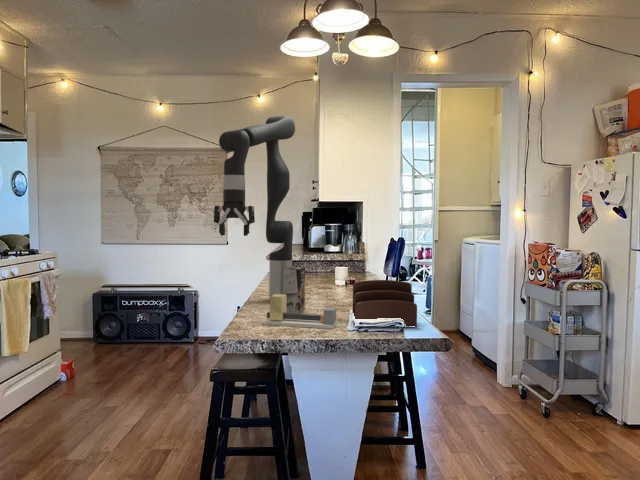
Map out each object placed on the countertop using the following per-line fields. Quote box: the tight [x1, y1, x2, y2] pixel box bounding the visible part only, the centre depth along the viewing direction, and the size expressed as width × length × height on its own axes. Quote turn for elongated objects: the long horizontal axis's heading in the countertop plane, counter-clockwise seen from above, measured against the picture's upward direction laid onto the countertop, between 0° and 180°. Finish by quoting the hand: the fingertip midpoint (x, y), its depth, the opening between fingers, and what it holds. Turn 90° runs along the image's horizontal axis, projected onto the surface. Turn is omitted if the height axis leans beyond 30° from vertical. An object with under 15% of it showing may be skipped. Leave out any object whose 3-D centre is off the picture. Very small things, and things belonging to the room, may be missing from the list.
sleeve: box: [269, 294, 287, 320], centre depth 148 cm, size 5×4×8 cm
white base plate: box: [262, 307, 339, 330], centre depth 147 cm, size 8×23×5 cm, turn 77°
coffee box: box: [283, 266, 306, 314], centre depth 167 cm, size 9×6×16 cm
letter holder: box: [352, 279, 418, 328], centre depth 148 cm, size 10×20×14 cm, turn 90°
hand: (234, 235), depth 158 cm, fingers open, 8 cm apart
